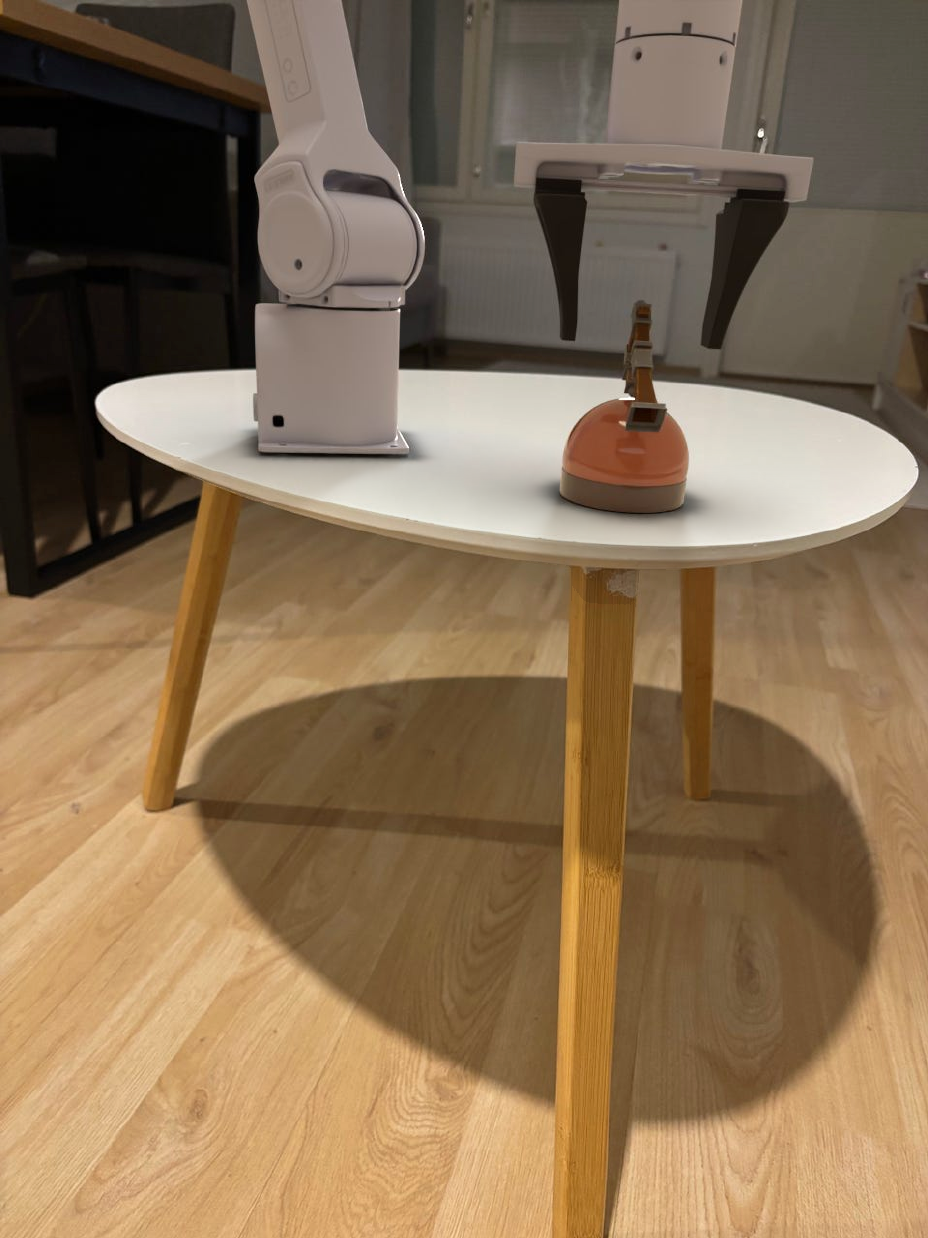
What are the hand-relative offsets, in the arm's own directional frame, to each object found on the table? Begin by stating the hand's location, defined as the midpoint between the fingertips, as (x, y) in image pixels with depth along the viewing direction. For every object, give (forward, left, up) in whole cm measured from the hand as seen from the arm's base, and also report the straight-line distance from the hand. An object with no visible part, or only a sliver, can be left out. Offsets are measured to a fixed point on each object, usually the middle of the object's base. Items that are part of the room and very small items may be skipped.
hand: (639, 343), depth 49 cm
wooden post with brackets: (0, -1, -3) cm, 3 cm away
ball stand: (0, 0, -10) cm, 10 cm away
